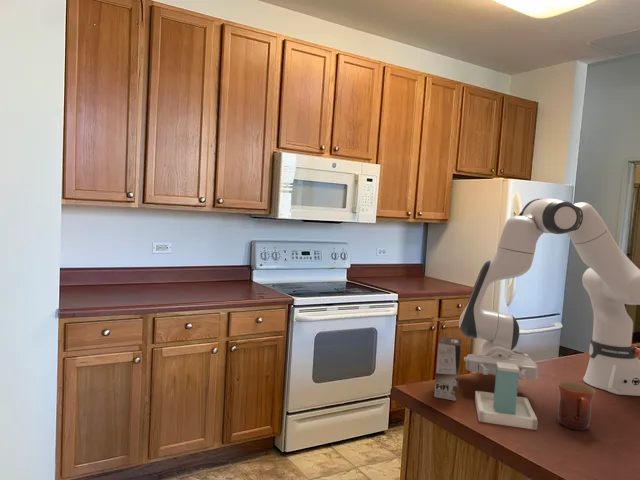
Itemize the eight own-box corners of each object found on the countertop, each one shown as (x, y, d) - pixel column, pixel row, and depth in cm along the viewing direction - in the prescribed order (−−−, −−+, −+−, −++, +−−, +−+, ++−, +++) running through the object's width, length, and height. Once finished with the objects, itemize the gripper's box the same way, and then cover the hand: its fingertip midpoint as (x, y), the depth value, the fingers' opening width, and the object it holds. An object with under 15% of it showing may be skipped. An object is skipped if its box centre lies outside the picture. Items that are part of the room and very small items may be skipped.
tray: (526, 406, 138) (527, 397, 138) (536, 430, 123) (537, 420, 123) (474, 399, 142) (475, 390, 141) (478, 421, 126) (479, 411, 126)
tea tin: (512, 407, 134) (516, 364, 133) (515, 415, 129) (519, 369, 128) (493, 404, 135) (496, 361, 135) (495, 412, 130) (498, 367, 130)
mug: (550, 416, 132) (553, 379, 131) (585, 421, 130) (589, 383, 130) (563, 436, 120) (567, 395, 120) (602, 441, 118) (606, 400, 118)
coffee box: (456, 401, 139) (460, 345, 138) (433, 397, 141) (437, 342, 140) (458, 390, 148) (462, 338, 147) (436, 387, 150) (440, 335, 149)
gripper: (464, 346, 155) (466, 359, 141) (533, 354, 150) (542, 367, 137) (462, 366, 155) (465, 380, 142) (531, 374, 150) (540, 390, 137)
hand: (503, 374), depth 139 cm, fingers open, 8 cm apart
